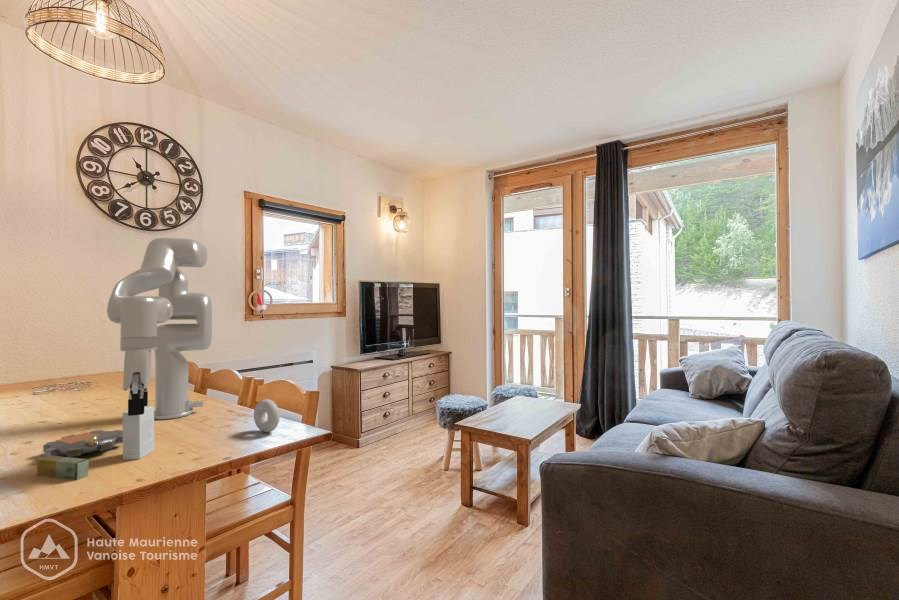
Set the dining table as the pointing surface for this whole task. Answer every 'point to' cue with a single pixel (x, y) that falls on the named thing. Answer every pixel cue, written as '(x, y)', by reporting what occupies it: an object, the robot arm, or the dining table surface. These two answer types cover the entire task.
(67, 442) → the notched metal plate
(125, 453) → the skincare box
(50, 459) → the medication box
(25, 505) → the dining table surface
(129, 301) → the robot arm
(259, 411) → the donut
